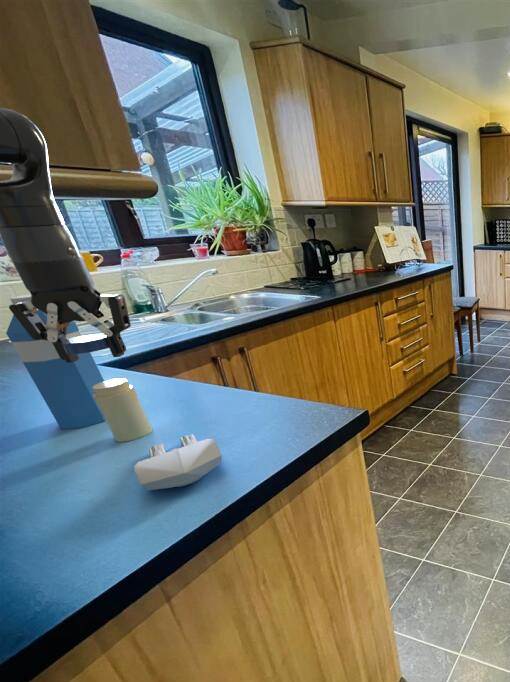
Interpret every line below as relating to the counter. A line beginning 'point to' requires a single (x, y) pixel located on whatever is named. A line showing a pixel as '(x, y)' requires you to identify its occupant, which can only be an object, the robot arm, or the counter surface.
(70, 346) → the lid
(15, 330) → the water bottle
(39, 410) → the counter surface
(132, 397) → the jar
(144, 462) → the white elongated knobbed piece
